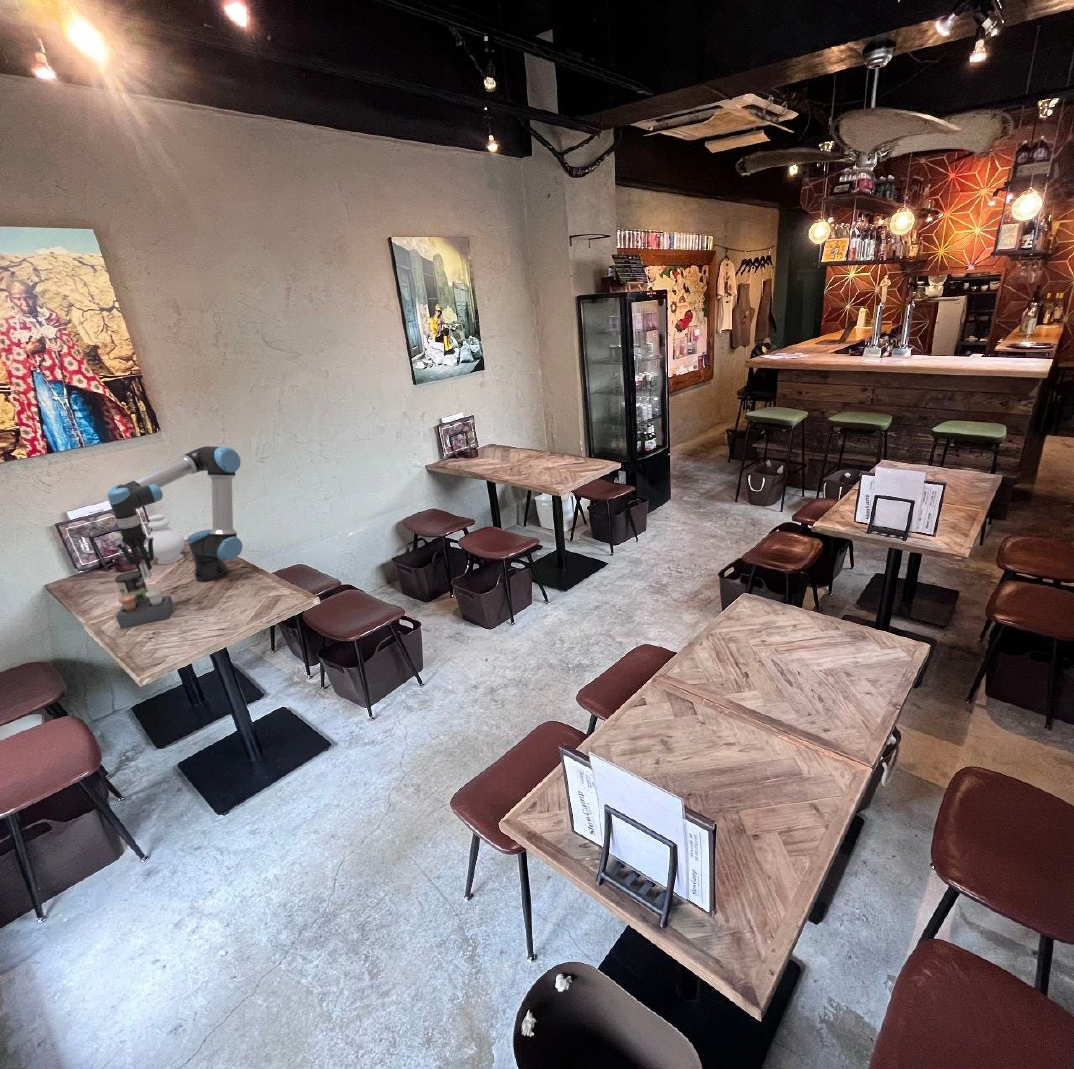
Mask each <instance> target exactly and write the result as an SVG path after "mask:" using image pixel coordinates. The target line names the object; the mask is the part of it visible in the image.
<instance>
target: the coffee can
mask: <svg viewBox="0 0 1074 1069" xmlns="http://www.w3.org/2000/svg"><path fill="white" fill-rule="evenodd" d="M114 582H115V583H116V585H117V588H118V591H119V593H120V596H121V597H122V596H124V595H128V594H135V597H136V598H135V599H134V601H135V602H137V601H142V600H147V599H149V598H147V597H146V595H145V593H146V592H148V591H149V590H148V588H147V585H146V581H145V579H144V578H143V575H142V572H141V571H140V572H139V571H138V570H132V571H128V572H124V573H122V574H119V575H118V576H116V577H115V578H114Z"/></svg>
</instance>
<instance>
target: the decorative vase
mask: <svg viewBox="0 0 1074 1069" xmlns="http://www.w3.org/2000/svg"><path fill="white" fill-rule="evenodd" d="M165 517H166V515H165V513H157V514H153V515H150V516H148V518H147V519H148V520H149V522H148V524H147V526H148V528H149V529H152V531H151V532H150V534H149V535H148V537H149V538H151V537H153V538H154V540H153V553H154V558H156V559H157V560H156V563H157V564H159V565H167V564H172V563H175V562H178V561H181V560H182V559H183V558H184V557H185V556H184V554H182V553H181V552H182V550H183V549H184V546H185V542H186V540H185V538H184V536H183V535H182V534H181V533H180V532H178V531H177V530H175V529H174V528H171V527H169V526H168V525H169V524H170V521H169V519H168V518H165ZM145 550H146V552H147V553H149V551H148V543H147V540H145Z"/></svg>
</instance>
